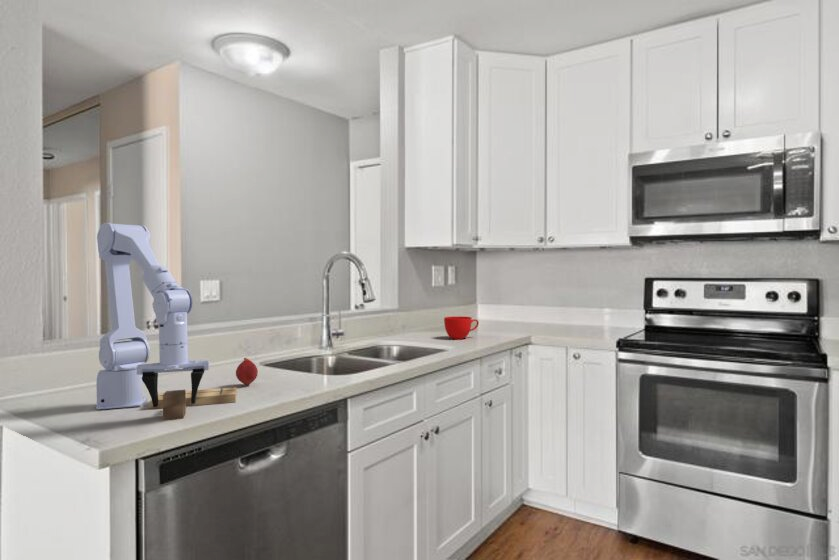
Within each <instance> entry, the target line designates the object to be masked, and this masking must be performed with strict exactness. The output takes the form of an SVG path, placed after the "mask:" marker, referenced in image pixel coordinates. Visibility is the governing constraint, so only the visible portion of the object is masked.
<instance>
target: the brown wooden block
mask: <svg viewBox="0 0 839 560" xmlns="http://www.w3.org/2000/svg"><path fill="white" fill-rule="evenodd" d="M186 391H187V390H186V389H175V390H166V391H165V392H163V393H164V395H163V408H162V416H163V417H162V419H163V421H170V420H171V421H172V420H184V419H185V416H186V414H187V411H186V410H187V409H186V408H187V406H186Z"/></svg>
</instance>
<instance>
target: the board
mask: <svg viewBox="0 0 839 560" xmlns="http://www.w3.org/2000/svg"><path fill="white" fill-rule="evenodd" d="M164 393H165V392H158V406H157V407H153V403H152V399H151V398H150V400H149V410H155V409H163V395H164ZM191 394H192V390H186V407H192V406H194V407H195V406H203V405H217V404H218V405H219V404H227V403H231V404H232V403H237V402H236V401H237V395H238V393H237V387H236V386H235V387H223V388H208V389H198V390H197V395H196V402H195V404H191Z"/></svg>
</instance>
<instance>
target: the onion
mask: <svg viewBox="0 0 839 560" xmlns="http://www.w3.org/2000/svg"><path fill="white" fill-rule="evenodd" d="M235 376H236V379H237V380H238V381H239V382H240V383H242V384H243V385H244V386H246V387H247V386H249V385H251V384H252V383H253V382H254V381H256V379H257V377H258V367H257V365H256V364H255V363H254V362H252V360H250V359H249V358H248V357H244V358H243V360H242V361H241V362H240V363H239V364H238V366H237V367H236V370H235Z"/></svg>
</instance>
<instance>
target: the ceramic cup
mask: <svg viewBox="0 0 839 560" xmlns="http://www.w3.org/2000/svg"><path fill="white" fill-rule="evenodd" d="M443 321H444V328H445V332H446V333H447V335H448V336H449V338H450V339H451V338H452V339H451V340H457V339H459V340H464V339H463V338H465V339H466V338H467V336H468V335H469V334H470V332H471V331H474V330H476V329H477V328H478V326H479V320H478V319H472V317H471V316H444V318H443ZM473 322H476V325H475V326H474V327H473V328H472V323H473Z"/></svg>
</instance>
